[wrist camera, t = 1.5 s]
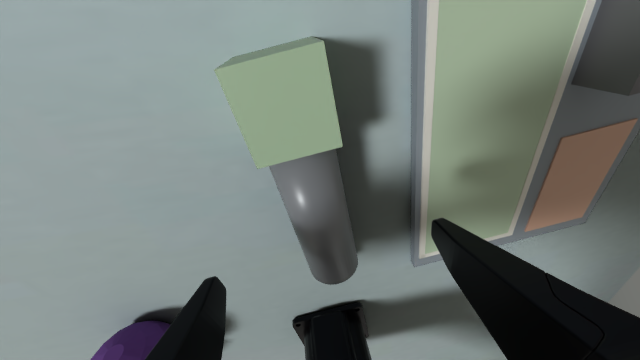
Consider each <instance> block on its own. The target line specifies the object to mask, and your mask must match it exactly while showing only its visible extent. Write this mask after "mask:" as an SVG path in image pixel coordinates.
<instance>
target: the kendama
mask: <svg viewBox="0 0 640 360" xmlns="http://www.w3.org/2000/svg"><path fill="white" fill-rule="evenodd" d="M169 327H170V324H168V323H165V322H161V321H144V322H138V323H133V324H131V325H130V326H128V327H126V328H124V329H122V330H120V331H118V332H117V333H116V334H115V335H113V336H112V337H111V338H110V339H109V340H107V341H106V342H105V343H104V344H103V345H102V346H101V347H100V349H99V350H98V351H97V352H96V354H95V355H94V356H93V357H92V358H91V360H145V358H146V357H147V356H148V354H149V353H150V352H151V351H152V349H153V348H154V347H155V345H156V344H157V343H158V341H159V340H160V339H161V337H162V336H163V335H164V333H165V332H166V331H167V329H168V328H169Z"/></svg>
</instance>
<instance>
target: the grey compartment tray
mask: <svg viewBox="0 0 640 360" xmlns="http://www.w3.org/2000/svg"><path fill="white" fill-rule="evenodd" d="M639 130H640V0H412V40H411V262H412V264H413V266H414V267H417V266H421V265H425V264H428V263H432V262H436V261H440V260H443V258H442V256H441V255H440V253H439V251H438V249H437V247H436V245H435V243H434V241H433V239H432V236H431V226H432V221H433V220H434V219H438V218H445V219H447V220H449V221H451V222H452V223H454V224H456V225H458V226H460V227H462V228H464V229H466V230H467V231H469V232H471V233H473V234H475V235H477V236H479V237H481V238H483V239H484V240H486V241H488V242H490V243H492V244H494V245H496V246H498V245H502V244H506V243H510V242H513V241H517V240H521V239H525V238H529V237H533V236H537V235H540V234H544V233H548V232H552V231H556V230H560V229H564V228H567V227H571V226H575V225H579V224H583V223H585V222H586V220H587V219H588V217H589V215H590V213H591V212H592V210H593V208H594V207H595V205H596V203H597V202H598V200H599V198H600V196H601V195H602V193H603V191H604V190H605V188H606V186H607V185H608V183H609V181H610V179H611V178H612V176H613V174H614V173H615V171H616V169H617V168H618V166H619V164H620V162H621V161H622V159H623V157H624V156H625V154H626V152H627V151H628V149H629V147H630V146H631V144H632V142H633V140H634V139H635V137H636V135H637V134H638V132H639Z"/></svg>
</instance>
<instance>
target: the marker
mask: <svg viewBox="0 0 640 360" xmlns="http://www.w3.org/2000/svg"><path fill="white" fill-rule="evenodd" d="M214 71H215V73H216V75H217V78H218V80H219V82H220V84H221V87H222V89H223V91H224V94H225V96H226V98H227V101H228V103H229V105H230V107H231V110H232V112H233V114H234V117H235V119H236V121H237V123H238V126H239V128H240V130H241V133H242V135H243V137H244V140H245V142H246V144H247V146H248V149H249V151H250V153H251V156H252V158H253V160H254V162H255V165H256V167H257V169H260V168H263V167H267V166H269V167H270V170H271V172H272V175H273V177H274V180H275V182H276V185H277V187H278V190H279V192H280V195H281V197H282V200H283V202H284V205H285V207H286V210H287V212H288V215H289V217H290V220H291V222H292V225H293V227H294V230H295V232H296V235H297V237H298V240H299V242H300V245H301V247H302V250H303V252H304V255H305V257H306V260H307V262H308V265H309V267H310V270H311V273H312V274H313V276H314V277H315V278H316V279H317V280H318V281H320V282H322V283H325V284H339V283H342V282H344V281H346V280H347V279H349V278H350V277H351V276H352V275H353V274H354V272H355V271H356V268H357V265H358V257H357V252H356V247H355V242H354V237H353V232H352V227H351V222H350V217H349V212H348V207H347V202H346V197H345V192H344V187H343V182H342V177H341V172H340V167H339V162H338V157H337V152H336V148H340V147H343V145H342V139H341V134H340V128H339V123H338V117H337V111H336V106H335V100H334V95H333V89H332V84H331V78H330V73H329V67H328V61H327V56H326V50H325V45H324V41H323V40H320V39H317V38H315V37H312V36H311V37H308V38H304V39H300V40H296V41H292V42H289V43H285V44H281V45H277V46H274V47H270V48H266V49H262V50H258V51H255V52H251V53H247V54H243V55H240V56H236V57H233V58H231V59H230V60H228V61H227V62H225V63H224V64H222V65H221V66H219V67H218V68H216V69H215V70H214Z"/></svg>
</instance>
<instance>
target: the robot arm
mask: <svg viewBox="0 0 640 360" xmlns="http://www.w3.org/2000/svg"><path fill="white" fill-rule="evenodd" d="M431 236H432V239H433V241H434V243H435V245H436V247H437V249H438V251H439V253H440V255H441V256H442V258H443V260H444V262H445V264H446V266H447V268H448V270H449V272H450V273H451V275H452V277H453V278H454V280H455V281H456V283H457V284H458V286H459V287H460V289H461V290H462V292H463V293H464V295H465V296H466V298H467V299H468V301H469V302H470V304H471V305H472V307H473V308H474V310H475V311H476V313H477V314H478V316H479V317H480V319H481V320H482V322H483V323H484V325H485V326H486V328H487V329H488V331H489V332H490V334H491V335H492V337H493V338H494V340H495V341H496V343H497V344H498V346H499V348H500V349H501V351H502V352H503V354H504V355H505V357H506V358H507V360H640V318H639V317H637V316H635V315H632V314H630V313H628V312H626V311H624V310H622V309H619V308H617V307H615V306H613V305H611V304H609V303H606V302H604V301H602V300H600V299H598V298H596V297H594V296H592V295H590V294H587V293H585V292H583V291H581V290H579V289H577V288H575V287H573V286H571V285H569V284H568V283H566V282H564V281H562V280H560V279H558V278H556V277H554V276H552V275H550V274H548V273H545V272H544V271H543V270H541V269H539V268H537V267H535V266H533V265H531V264H530V263H528V262H526V261H524V260H522V259H520V258H518V257H516V256H514V255H513V254H511V253H509V252H507V251H505V250H503V249H501V248H499V247H498V246H496V245H494V244H492V243H490V242H488V241H486V240H484V239H483V238H481V237H479V236H477V235H475V234H473V233H471V232H469V231H467V230H466V229H464V228H462V227H460V226H458V225H456V224H454V223H452V222H451V221H449V220H447V219H445V218H438V219H434V220H433V221H432V226H431ZM225 318H226V288H225V286H224V285H223V284H222V283H221V281H220V280H219V279H218V278H217V277H216V276H214V277H210V278H207V279H205V280H204V281H203V283H202V284H201V285H200V287H199V288H198V289H197V291H196V292H195V293H194V295H193V296H192V297H191V299H190V300H189V301H188V303H187V304H186V305H185V307H184V308H183V309H182V311H181V312H180V313H179V315H178V316H177V317H176V319H175V320H174V321H173V323H172V324H171V325H170V327H169V328H168V329H167V331H166V332H165V333H164V335H163V336H162V337H161V339H160V340H159V341H158V343H157V344H156V345H155V347H154V348H153V349H152V351H151V352H150V353H149V354H148V356H147V357H146V358H145V360H221V358H222V350H223V343H224V335H225ZM293 328H294V329H295V331H296V333H297V334H298V336H299V338H300V339H301V341H302V343H303V344H304V346H305V358H306V360H372V359H371V356H370V352H369V348H368V345H367V341H366V338H367V337H368V336H369V335H368V330H367V326H366V321H365V317H364V312H363V308H362V305H361V303H358V302H357V303H353V304H349V305H345V306H341V307H337V308H333V309H329V310H326V311H322V312H318V313H314V314H310V315H306V316H302V317H299V318H295V319H294V320H293Z"/></svg>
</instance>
